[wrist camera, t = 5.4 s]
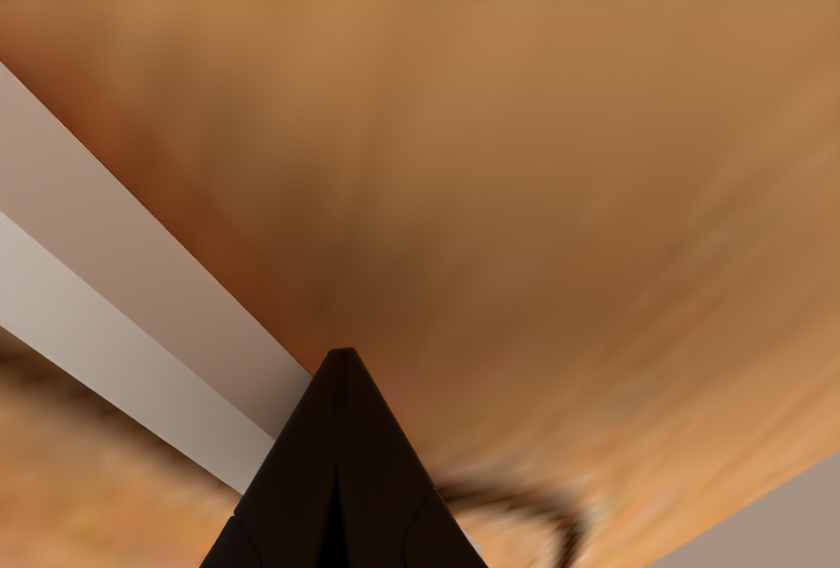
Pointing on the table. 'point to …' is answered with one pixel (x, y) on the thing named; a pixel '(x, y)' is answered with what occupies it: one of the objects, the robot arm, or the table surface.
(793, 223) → the table surface
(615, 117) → the table surface
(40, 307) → the beige long bar
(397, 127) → the table surface
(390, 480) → the robot arm
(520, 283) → the table surface
